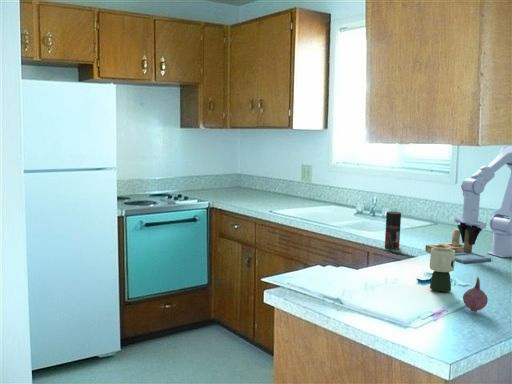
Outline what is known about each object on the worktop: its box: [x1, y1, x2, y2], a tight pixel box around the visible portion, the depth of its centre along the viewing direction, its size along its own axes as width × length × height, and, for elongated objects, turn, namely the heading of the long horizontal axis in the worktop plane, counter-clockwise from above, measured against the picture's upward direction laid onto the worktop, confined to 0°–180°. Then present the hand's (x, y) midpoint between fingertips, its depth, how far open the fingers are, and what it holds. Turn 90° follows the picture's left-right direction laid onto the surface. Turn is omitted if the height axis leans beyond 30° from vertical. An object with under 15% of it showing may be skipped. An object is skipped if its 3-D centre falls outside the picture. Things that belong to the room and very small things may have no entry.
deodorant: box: [384, 211, 402, 250], centre depth 224 cm, size 6×6×15 cm
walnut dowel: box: [463, 229, 473, 253], centre depth 208 cm, size 3×3×9 cm
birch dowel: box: [451, 228, 461, 247], centre depth 221 cm, size 3×3×9 cm
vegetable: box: [462, 276, 488, 313], centre depth 146 cm, size 6×6×10 cm
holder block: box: [424, 242, 464, 254], centre depth 220 cm, size 16×8×2 cm, turn 113°
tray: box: [455, 251, 492, 264], centre depth 209 cm, size 14×10×1 cm
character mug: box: [429, 247, 456, 293], centre depth 165 cm, size 11×7×13 cm, turn 167°
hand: (468, 243), depth 208 cm, fingers closed on walnut dowel, 3 cm apart
